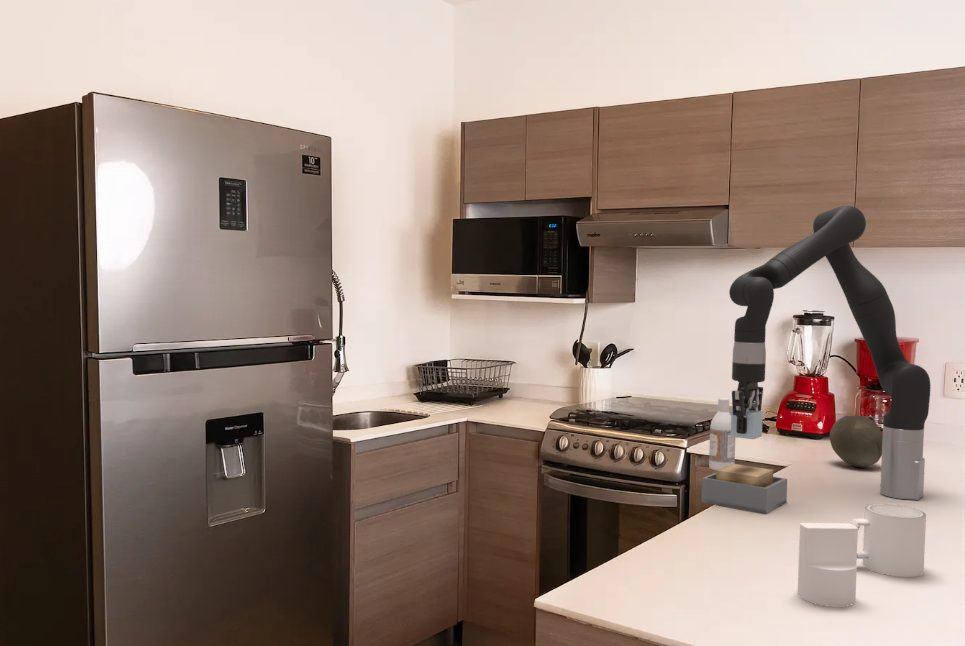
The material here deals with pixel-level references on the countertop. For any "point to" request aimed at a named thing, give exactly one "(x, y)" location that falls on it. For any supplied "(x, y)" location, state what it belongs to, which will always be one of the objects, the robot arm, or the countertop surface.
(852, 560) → the base with upright slab
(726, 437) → the bath foam
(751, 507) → the tote
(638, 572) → the countertop surface
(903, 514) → the mug
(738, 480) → the oak block
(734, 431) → the light blue cube
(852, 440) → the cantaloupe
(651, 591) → the countertop surface
